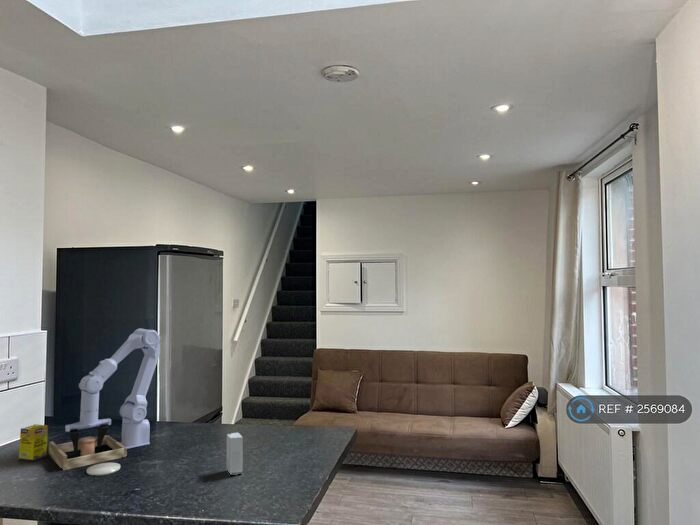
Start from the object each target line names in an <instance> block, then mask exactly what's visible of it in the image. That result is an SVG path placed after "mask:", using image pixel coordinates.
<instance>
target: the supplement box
mask: <svg viewBox="0 0 700 525" xmlns="http://www.w3.org/2000/svg"><path fill="white" fill-rule="evenodd" d="M48 428H49V426H48V425H46V424H36V423H35V424H32V425H29V426H26V427H22V428H20V433H19V434H20V435H19V437H20V438H19V449H18V450H19V451H18V452H19V453H18V461H21V462H29V461H31V462H30V463H34V462H35V461H38V460H40V458H41V459H42V458H46V457H47V451H48V450H47V448H48V433H49V431H48V430H49V429H48ZM33 461H34V462H33Z"/></svg>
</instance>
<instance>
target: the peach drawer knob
mask: <svg viewBox="0 0 700 525" xmlns="http://www.w3.org/2000/svg"><path fill="white" fill-rule="evenodd" d="M96 437H97V436H85V437H82V438H80V439H79V441H80V442H81V449H80V456H79V457H81V456H86V455H91V454H96V451H95V448H96V446H95V441H96Z"/></svg>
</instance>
